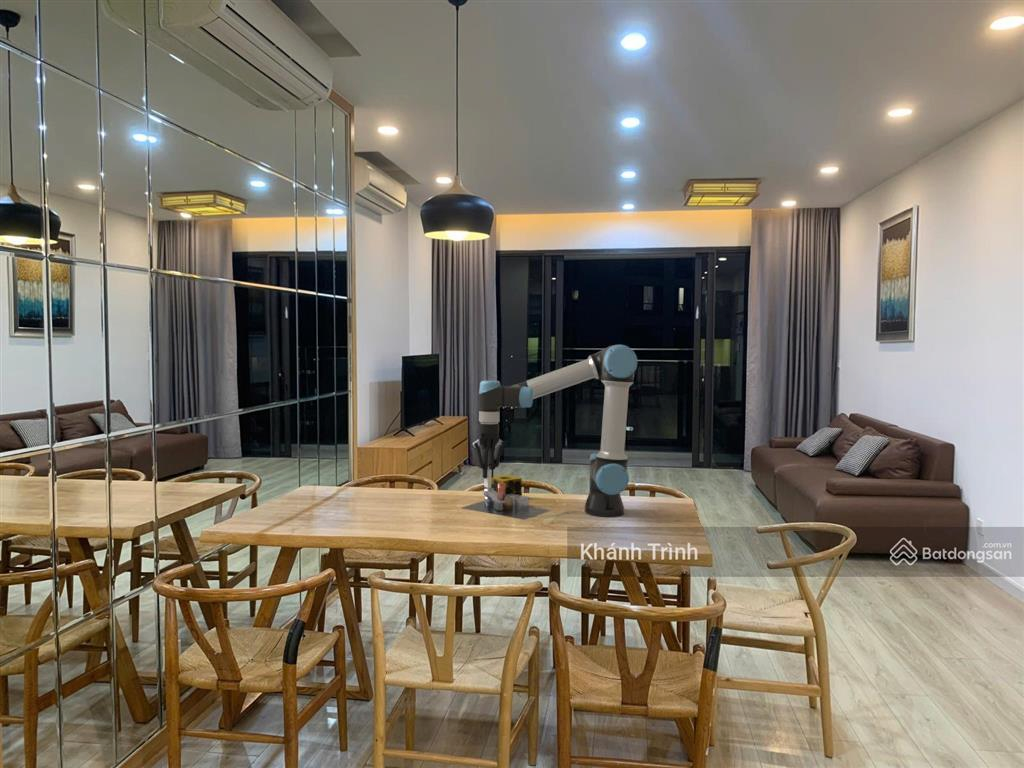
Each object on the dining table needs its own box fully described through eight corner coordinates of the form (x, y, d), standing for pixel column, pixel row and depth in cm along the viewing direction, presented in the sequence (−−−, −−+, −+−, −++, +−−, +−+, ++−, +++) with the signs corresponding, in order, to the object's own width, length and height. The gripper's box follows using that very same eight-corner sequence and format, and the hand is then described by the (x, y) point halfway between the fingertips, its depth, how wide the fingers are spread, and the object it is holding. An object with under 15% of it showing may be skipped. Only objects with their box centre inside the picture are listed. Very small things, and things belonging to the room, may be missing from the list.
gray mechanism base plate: (550, 514, 254) (551, 499, 254) (524, 523, 239) (524, 508, 239) (488, 503, 271) (488, 489, 271) (460, 511, 257) (460, 497, 256)
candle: (508, 497, 283) (508, 474, 283) (522, 501, 275) (523, 477, 275) (488, 500, 277) (488, 476, 277) (503, 505, 269) (503, 480, 269)
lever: (482, 504, 261) (482, 475, 260) (493, 503, 263) (493, 475, 262) (497, 515, 244) (497, 484, 243) (508, 514, 245) (509, 483, 245)
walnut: (515, 508, 256) (515, 498, 256) (508, 510, 253) (508, 500, 253) (505, 506, 259) (505, 496, 259) (499, 509, 255) (499, 498, 255)
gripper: (499, 421, 249) (498, 483, 250) (468, 422, 242) (467, 486, 244) (509, 423, 242) (508, 487, 244) (477, 424, 236) (476, 490, 237)
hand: (487, 486), depth 244 cm, fingers closed
